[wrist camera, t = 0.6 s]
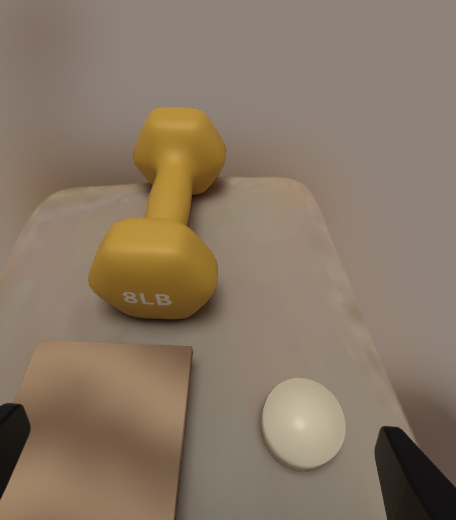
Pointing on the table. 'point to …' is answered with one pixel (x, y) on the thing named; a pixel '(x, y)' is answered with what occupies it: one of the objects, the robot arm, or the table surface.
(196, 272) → the dumbbell
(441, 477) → the robot arm
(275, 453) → the cream rounded piece
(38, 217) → the table surface
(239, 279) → the table surface
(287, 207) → the table surface
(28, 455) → the tan flat board
